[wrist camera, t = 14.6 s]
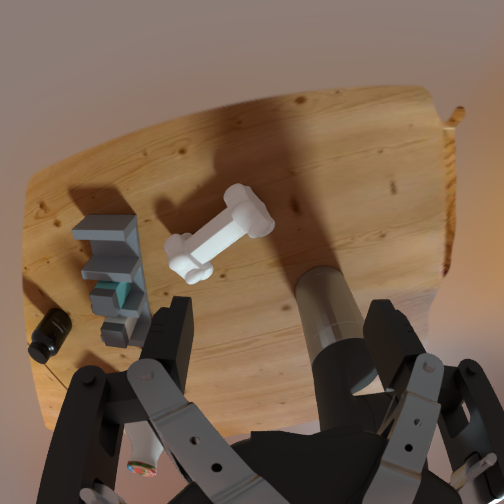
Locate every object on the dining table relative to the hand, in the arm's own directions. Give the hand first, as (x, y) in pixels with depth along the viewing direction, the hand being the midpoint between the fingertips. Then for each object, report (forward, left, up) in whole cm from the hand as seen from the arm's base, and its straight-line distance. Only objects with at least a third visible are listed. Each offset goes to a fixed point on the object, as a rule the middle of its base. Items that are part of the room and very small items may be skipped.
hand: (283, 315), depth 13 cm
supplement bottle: (-34, +41, -33) cm, 63 cm away
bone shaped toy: (-10, +5, -33) cm, 35 cm away
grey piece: (-21, +23, -33) cm, 45 cm away
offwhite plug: (-28, +23, -32) cm, 48 cm away
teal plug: (-21, +23, -32) cm, 44 cm away
